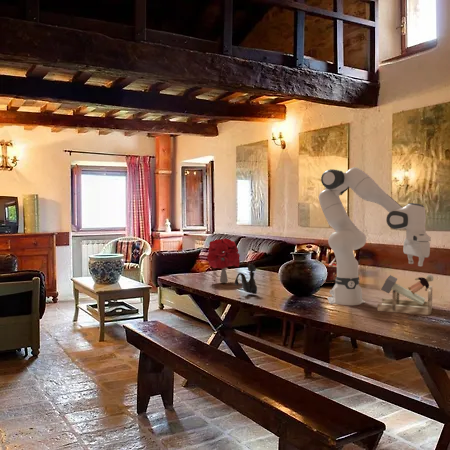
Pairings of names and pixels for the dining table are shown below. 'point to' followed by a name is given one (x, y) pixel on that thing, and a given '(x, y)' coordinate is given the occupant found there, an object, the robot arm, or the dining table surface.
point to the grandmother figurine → (421, 284)
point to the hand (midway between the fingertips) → (415, 265)
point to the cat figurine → (250, 285)
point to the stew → (331, 272)
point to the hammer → (401, 290)
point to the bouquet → (223, 256)
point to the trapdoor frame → (406, 305)
